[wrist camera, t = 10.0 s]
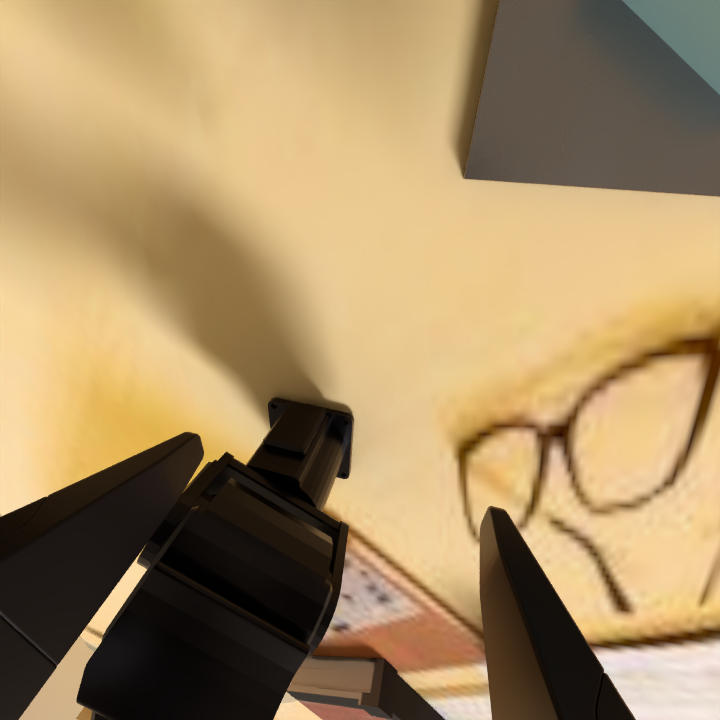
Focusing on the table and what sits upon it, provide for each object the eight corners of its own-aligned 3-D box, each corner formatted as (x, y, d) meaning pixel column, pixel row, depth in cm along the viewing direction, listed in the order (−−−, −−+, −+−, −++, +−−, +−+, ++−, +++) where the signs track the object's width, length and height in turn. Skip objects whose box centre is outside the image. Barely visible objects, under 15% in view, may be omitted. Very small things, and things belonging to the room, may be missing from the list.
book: (294, 651, 50) (279, 694, 46) (385, 654, 42) (378, 707, 38) (381, 724, 58) (376, 767, 54) (472, 739, 50) (474, 791, 46)
